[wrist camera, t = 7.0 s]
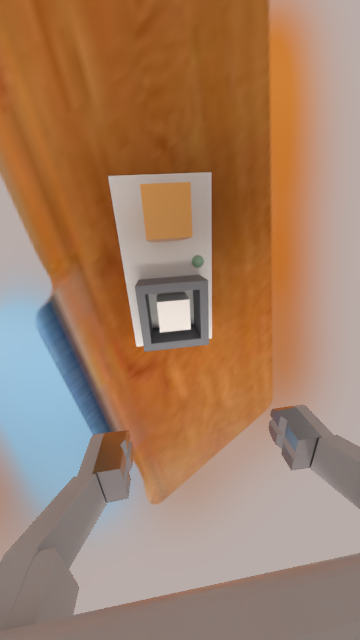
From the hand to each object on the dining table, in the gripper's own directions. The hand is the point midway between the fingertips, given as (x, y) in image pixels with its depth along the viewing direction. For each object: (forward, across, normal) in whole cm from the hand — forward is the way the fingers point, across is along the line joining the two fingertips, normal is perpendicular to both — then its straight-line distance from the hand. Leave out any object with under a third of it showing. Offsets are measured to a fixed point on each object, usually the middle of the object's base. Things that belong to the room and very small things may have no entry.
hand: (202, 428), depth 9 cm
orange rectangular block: (+20, 0, -11) cm, 23 cm away
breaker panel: (+21, 0, -5) cm, 22 cm away
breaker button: (+19, 0, 0) cm, 19 cm away
